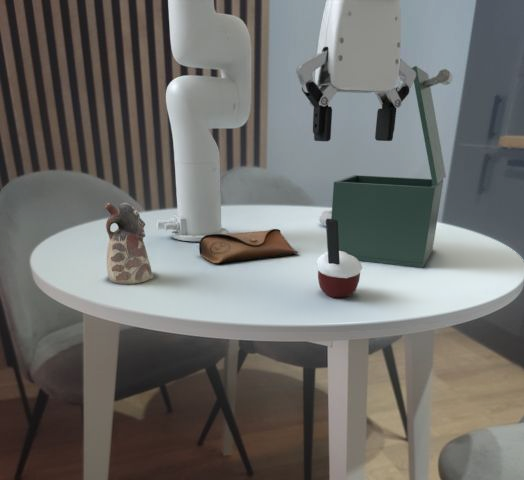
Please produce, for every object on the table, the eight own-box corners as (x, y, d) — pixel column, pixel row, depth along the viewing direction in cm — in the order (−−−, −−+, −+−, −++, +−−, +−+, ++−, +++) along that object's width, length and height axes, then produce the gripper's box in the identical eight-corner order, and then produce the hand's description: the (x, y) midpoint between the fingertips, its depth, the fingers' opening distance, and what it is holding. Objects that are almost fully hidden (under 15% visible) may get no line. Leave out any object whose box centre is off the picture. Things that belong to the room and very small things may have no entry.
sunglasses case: (216, 263, 88) (208, 227, 89) (204, 274, 95) (196, 240, 95) (301, 252, 96) (293, 219, 97) (284, 263, 103) (277, 232, 103)
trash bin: (328, 257, 96) (333, 181, 90) (348, 242, 108) (353, 175, 102) (422, 267, 89) (434, 187, 83) (432, 250, 101) (443, 179, 96)
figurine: (154, 282, 79) (148, 205, 74) (108, 285, 78) (98, 206, 72) (150, 270, 86) (144, 198, 81) (107, 273, 84) (98, 199, 79)
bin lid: (411, 67, 78) (444, 54, 76) (423, 75, 90) (452, 64, 88) (432, 185, 83) (464, 177, 81) (441, 177, 96) (469, 170, 93)
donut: (320, 230, 120) (362, 230, 120) (321, 215, 118) (363, 215, 118) (317, 222, 129) (356, 222, 129) (317, 209, 127) (357, 208, 127)
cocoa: (340, 284, 80) (346, 207, 75) (371, 293, 75) (380, 213, 70) (298, 296, 74) (301, 213, 69) (329, 307, 70) (335, 220, 65)
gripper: (404, -1, 66) (389, 139, 73) (286, -15, 59) (283, 140, 66) (443, -14, 59) (423, 141, 66) (317, -32, 53) (309, 142, 60)
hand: (353, 140), depth 66 cm, fingers open, 9 cm apart
